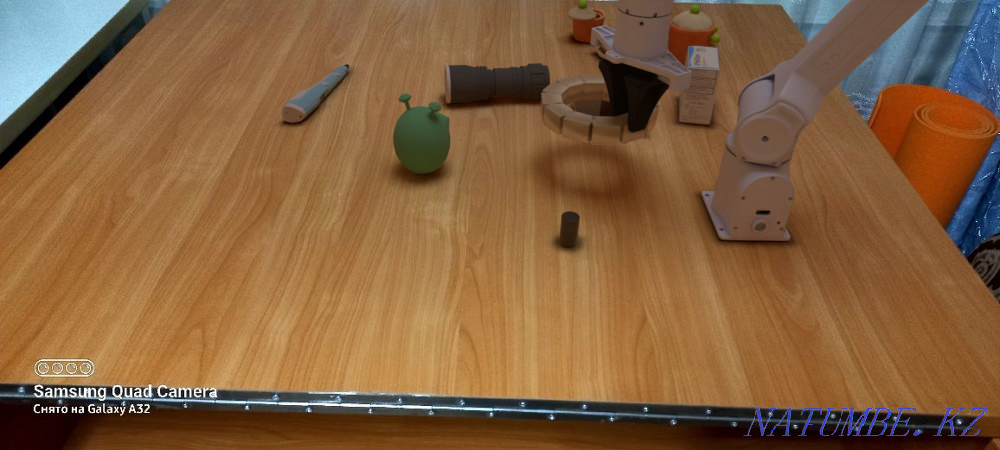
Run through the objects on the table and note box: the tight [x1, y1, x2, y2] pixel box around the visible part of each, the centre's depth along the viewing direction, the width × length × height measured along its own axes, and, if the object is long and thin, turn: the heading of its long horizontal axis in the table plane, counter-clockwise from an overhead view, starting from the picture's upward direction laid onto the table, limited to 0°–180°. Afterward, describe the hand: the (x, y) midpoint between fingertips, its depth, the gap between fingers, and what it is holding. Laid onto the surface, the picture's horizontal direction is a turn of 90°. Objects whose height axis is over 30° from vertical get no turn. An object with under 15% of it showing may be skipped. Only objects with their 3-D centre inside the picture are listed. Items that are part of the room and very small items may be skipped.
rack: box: [572, 100, 612, 117], centre depth 104 cm, size 9×9×6 cm
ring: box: [539, 74, 660, 146], centre depth 90 cm, size 14×14×2 cm
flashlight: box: [443, 62, 551, 104], centre depth 109 cm, size 15×5×5 cm, turn 99°
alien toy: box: [392, 93, 451, 175], centre depth 91 cm, size 7×8×10 cm
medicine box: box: [678, 46, 721, 126], centre depth 106 cm, size 8×4×9 cm, turn 168°
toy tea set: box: [566, 0, 722, 66], centre depth 124 cm, size 26×16×10 cm, turn 84°
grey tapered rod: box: [281, 63, 350, 123], centre depth 109 cm, size 19×3×3 cm, turn 166°
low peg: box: [558, 210, 581, 248], centre depth 81 cm, size 2×2×4 cm
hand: (628, 124), depth 85 cm, fingers closed on ring, 2 cm apart
